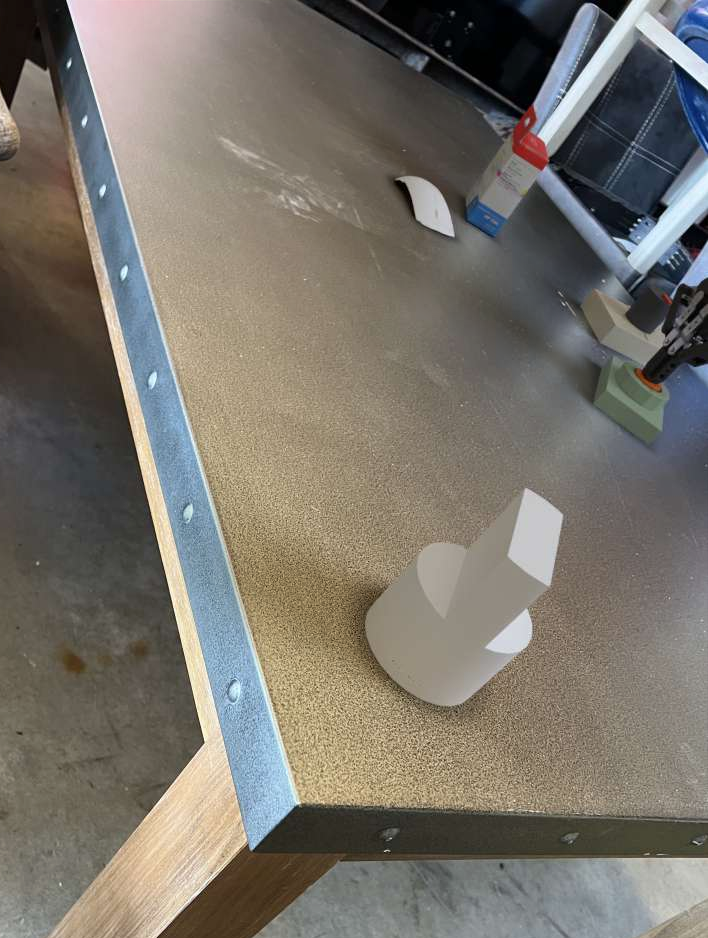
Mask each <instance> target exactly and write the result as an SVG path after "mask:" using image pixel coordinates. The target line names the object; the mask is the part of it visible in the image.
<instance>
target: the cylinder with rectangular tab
mask: <svg viewBox="0 0 708 938" xmlns="http://www.w3.org/2000/svg"><path fill="white" fill-rule="evenodd" d="M563 519H564V514H563V513H562V512H561V511H560V510H559V509H557V508H556V507H555V506H554V505H553V504H551V503H550V502H549V501H547V499H545V498H543V497H542V496H541V495H539V494H538V493H535V492H534V491H532V490H531V489H529V488H527V487H525V488H524V489H522V491H521V492H520V493H519V494H518V495H517V496H516V497H515V498H514V499H513V500H512V501H511V502H510V503H509V504H508V505H507V506H506V507H505V509H504V510H503V511H502V512H501V513H500V514H499V515H498V516H497V517H496V518H495V519H494V521H492V522H491V523H490V525H488V526H487V527H486V529H485V530H484V531H483V532H482V533H481V534H480V535H479V536H478V537H477V539H476V540H474V542H472V544H471V545H470V546H469V547H468V548H466V547H463V546H462V545H459V544H455V543H450V542H446V541H442V542H432V543H430V544H428V545H426V546H424V547H423V548H422V549H421V550H420V551H419V553H417V554H416V556H415V557H414V558H413V559H412V560H411V561H410V563H408V565H406V567H404V569H403V570H402V572H400V574H399V575H397V577H396V578H395V579H394V580H393V581H392V582H391V584H390V585H389V586H388V587H387V588H386V589H385V590H384V591H383V592H382V593H381V595H380V596H379V597H378V598H377V599H376V600H375V602H374V603H373V604H372V605H371V606H370V608H369V609H368V611H367V612H366V615H365V620H364V629H365V637H366V640H367V642H368V645H369V648H370V650H371V652H372V654H373V656H374V658H375V659H376V660H377V662H378V664H379V665H380V667H381V668H382V669H383V670H384V671H385V673H386V674H387V675H388V676H389V677H390V678H391V680H393V681H394V682H395V683H396V684H397V685H399V686H400V687H401V688H402V689H403V690H405V691H406V692H407V693H409V694H410V695H412V696H414V697H416V698H418V699H419V700H421V701H422V702H423V701H424V702H426V703H429V704H432V705H435V706H440V707H454V706H457V705H458V706H459V705H462V704H463V703H465V702H466V701H468V700H469V699H470V698H471V697H472V696H474V694H475V693H477V692H478V691H479V690H480V689H481V688H482V687H484V686H485V685H486V684H487V683H488V682H489V681H490V680H491V679H492V678H493V677H494V676H496V675H497V674H498V673H499V672H500V671H502V669H503V668H505V667H506V666H507V665H508V664H509V663H510V662H511V661H513V660H514V659H515V658H516V657H517V656H518V655H519V654H520V653H522V652H523V651H524V650H525V649H526V648H527V647H528V646H529V644H530V642H531V640H532V637H533V623H532V619H531V615H530V612H529V610H528V609H529V607H530V606H531V605H532V604H534V602H535V601H536V600H538V598H539V597H541V596H542V595H543V594H544V593H545V592H546V591H547V590H548V589H550V587H551V585H552V579H553V573H554V568H555V563H556V558H557V552H558V548H559V541H560V537H561V536H560V535H561V530H562V525H563ZM387 654H388V655H387ZM389 657H390V658H391V659H393V661H394V662H393V661H392V660H391V659H390V658H389ZM396 664H397V666H398V667H399V668H400V669H401V670H402V671H403V672H404V673H403V672H402V671H401V670H400V669H399V668H398V667H397V666H396ZM408 676H409V677H410V678H411V679H410V678H409V677H408ZM413 680H414V681H413ZM417 683H418V684H417ZM420 685H421V686H420ZM438 694H439V695H438Z"/></svg>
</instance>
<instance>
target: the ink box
mask: <svg viewBox="0 0 708 938" xmlns="http://www.w3.org/2000/svg"><path fill="white" fill-rule="evenodd" d="M528 119H529V122H528V123H527V121H528ZM537 122H538V118H537V113H536V109H535V105H534V104H531V105H530V106H529V107H528V108H527V110H526V111H525V113H524V114H523V115H522V117H521V118H520V120H519V121H518V122H517V124H516V125H515V126H514V128H513V129H512V130H511V132H510V134H509V135H508V137H507V138H506V139H505V141H504V143H503V144H502V145H501V147H500V148H499V149H498V151H497V152H496V154H495V155H494V156H493V158H492V159H491V160H490V163H489V164H488V166H487V167H486V169H485V170H484V171H483V173H482V174H481V176H480V177H479V179H478V180H477V181H476V183H475V185H474V186H473V188H472V189H471V190H470V191H469V193H468V194H467V196H466V197H465V215H466V218H465V219H466V221H467V222H469V223H470V224H472V225H473V226H475V227H477V228H478V229H480V230H482V231H483V232H484V233H486V234H488V235H489V236H491V237H493V238H495V237H496V236H497V235H498V233H499V232H500V230H501V229H502V227H503V226H504V224H505V223H506V222H507V221H508V219H509V218H510V217H511V215H512V214H513V212H514V210H516V208H517V206H518V205H519V204H520V202H521V200H523V198H524V197H525V195H526V194H527V193H528V191H529V190H530V189H531V187H532V186H533V184H534V183H535V182H536V180H537V179H538V177H539V176H540V175H541V173H542V172H543V171H544V169H545V168H546V166H547V165H548V164H549V163H550V158H549V155H548V151H547V147H546V143H545V141H544V140H543V139H542V138H540V137H539V136H538V135H536V134H535V133H533V132H532V130H533V128H534V127H535V126H536V124H537Z"/></svg>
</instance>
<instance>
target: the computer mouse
mask: <svg viewBox="0 0 708 938" xmlns="http://www.w3.org/2000/svg"><path fill="white" fill-rule="evenodd" d="M394 181H401V183H405V185H406V187H407V189H408V191H409V194H410V198H411V200H412V205H413V211H414V215H415V220H416V221H417V222H419V223H420V224H421V225H423V226H425V227H427V228H429V229H430V230H434V231H436V232H438V233H441V234H442V235H443V234H444V235H446V236H449V237H452V238H456V237H455V230H454V226H453V221H452V217H451V214H450V213H451V212H450V211H449V210H450V209H449V207H448V204H447V202H446V200H445V198H444V196H443V194H442V193H441V191H440V190H439V189H438V187H437V186H435V185H434V184H433V183H431V182H430V181H428V180H426V179H425V178H422V177H419V176H414V175H405V176H400V177H397V178H395V180H394Z"/></svg>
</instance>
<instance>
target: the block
mask: <svg viewBox="0 0 708 938" xmlns="http://www.w3.org/2000/svg"><path fill="white" fill-rule="evenodd" d="M644 367H645V366H644V365H642V364H640V363H638V362H637V361H635V360H626V361H625V362H624V361H623V360H622V359H620V358H618V357H617V356H616V355H615V354H613V355H612V356H611V357H610V358H608V360H607V361H606V362H605V363H604V364H603V366H602V367H601V368H600V372H599V376H598V380H597V385H596V389H595V392H594V393H595V394H594V398H593V401H592V404H593V405H594V406H595V407H597V408H598V409H599V410H601V411H602V412H603V413H605V414H606V415H607V416H609V417H610V418H611V419H612V420H614V421H615V422H616V423H618V424H619V425H621V427H623V428H625V429H626V430H627V431H629V432H630V433H631V434H633V435H634V436H635V437H637V438H638V439H639V440H641V442H643V443H645V444H646V445H647V446H649V445H650V444H651V443H652V442H653V441H654V440H655V439H657V437H658V436H659V435H660V434H661V433H663V424H664V413H665V412H664V411H665V405H666V404H667V403H668V402H669V401H670V398H671V393H670V391H669V390H668V388H667V387H666V385H665V383H663V382H662V383H660V385H661V390H660V391H659V392H658V393H657V392H655V391H653V390H651V389H650V388H649V387H647V386H646V385H645V384H643V383H642V382H641V381H640V380H639V379H638V378H637V376H636V374H635V373H634V372H635V371H636V370H637V369H639V368H640V369H643V368H644Z"/></svg>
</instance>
